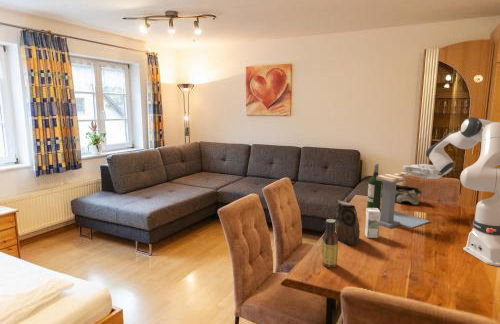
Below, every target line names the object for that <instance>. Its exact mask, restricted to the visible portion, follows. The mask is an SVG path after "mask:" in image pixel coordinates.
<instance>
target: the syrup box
mask: <svg viewBox="0 0 500 324" xmlns="http://www.w3.org/2000/svg"><path fill="white" fill-rule="evenodd" d="M380 213H381V210H379V209H378V208H367V207H366V208H365V221H364V235H365V237H366V238H367V239H379V234H380V233H379V232H380V225H379V224H380Z"/></svg>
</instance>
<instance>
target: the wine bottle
mask: <svg viewBox="0 0 500 324" xmlns="http://www.w3.org/2000/svg"><path fill="white" fill-rule="evenodd" d="M379 166H380V164H379V163H376V162H374V164H373V173H372V176H371V177H370V178H369V179H368V184H367V185H368V187H367V203H366V204H367V205H366V208H378V209H379V211H381V202H382V191H381V189H382V184H383V181H378V180H376V177H377V176H379Z"/></svg>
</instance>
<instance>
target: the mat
mask: <svg viewBox="0 0 500 324" xmlns="http://www.w3.org/2000/svg"><path fill="white" fill-rule="evenodd" d="M380 217H381V212H380ZM394 220H395V221H399V222H400V226H403V227H407V228H409V229H414V228H417V227H420V226H423V225H425V224H428V223H430V220H427V219H424V218H421V217H417V216H415V215H414V216H413V215H410V214H407V213H403V212H401V211H397V210H394Z"/></svg>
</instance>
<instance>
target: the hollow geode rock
mask: <svg viewBox="0 0 500 324" xmlns="http://www.w3.org/2000/svg"><path fill="white" fill-rule="evenodd" d="M382 188H383V183H382ZM381 192H382V189H381ZM418 194H419V195H421V194H422V191H421V190H420V188H419V187H416V186H415V187H414V186H407V185H402V184H401V185H400V184H396V195H395V203H402V202H409V203H410V204H411V205H413V206H416V205H419V204H420V201H419V195H418Z"/></svg>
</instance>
